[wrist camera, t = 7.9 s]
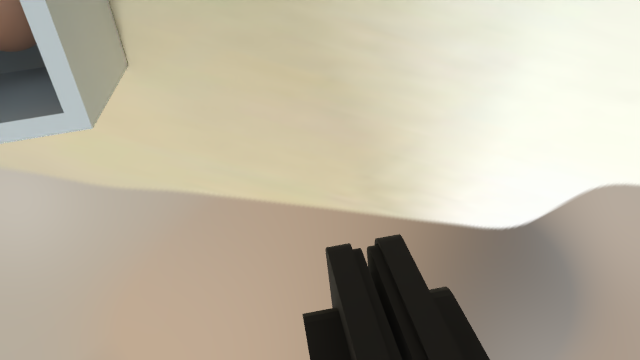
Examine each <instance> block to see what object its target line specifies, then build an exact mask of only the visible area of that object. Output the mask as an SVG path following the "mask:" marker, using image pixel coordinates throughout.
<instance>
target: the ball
mask: <svg viewBox="0 0 640 360" xmlns="http://www.w3.org/2000/svg"><path fill="white" fill-rule="evenodd" d="M36 44H37V43H36V41H35V38H34V36H33V33H32V31H31V28H30V26H29V23H28V20H27V18H26V15H25V13H24V10H23V8H22V5H21V3H20V0H0V51H5V52H16V51H22V50H26V49H28V48H30V47H32V46H34V45H36Z"/></svg>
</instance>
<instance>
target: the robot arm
mask: <svg viewBox="0 0 640 360" xmlns="http://www.w3.org/2000/svg"><path fill="white" fill-rule="evenodd" d="M326 258H327V265H328V274H329V282H330V290H331V299H332V307H333V308H332V309H326V310H321V311H316V312H311V313H306V314H303V319H304V325H305V331H306V336H307V343H308V349H309V355H310V360H490V359H489V357H488V356H487V354H486V352H485V350H484V349H483V347H482V345H481V343H480V341H479V340H478V338H477V336H476V334H475V332H474V331H473V329H472V327H471V325H470V324H469V322H468V320H467V318H466V317H465V315H464V313H463V311H462V309H461V308H460V306H459V304H458V302H457V301H456V299H455V297H454V295H453V294H452V292H451V291H450V289H449V288H447V287H442V288H437V289H431V290H429V289H428V287H427V285H426V283H425V281H424V280H423V277H422V275H421V273H420V272H419V270H418V268H417V266H416V264H415V262H414V260H413V258H412V256H411V254H410V252H409V250H408V248H407V246H406V244H405V242H404V240H403V238H402V236H401V235H393V236H388V237H383V238H377V239H375V246H369V247H368V248H367V258H368V266H367V263H366V261H365V258H364V255H363V253H362V250H361V248H358V249H353V250H352V247H351V245H350V244H343V245H338V246H332V247H327V248H326Z"/></svg>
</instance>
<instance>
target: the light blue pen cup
mask: <svg viewBox="0 0 640 360" xmlns="http://www.w3.org/2000/svg"><path fill="white" fill-rule="evenodd" d="M20 3H21V5H22V8H23V10H24V13H25V15H26V18H27V20H28V23H29V26H30V28H31V31H32V33H33V36H34V38H35V41H36V43H37V44H36V45H34V46H32V47H30V48H28V49H26V50H22V51H16V52H5V51H0V144H2V143H8V142H14V141H20V140H26V139H32V138H38V137H44V136H50V135H56V134H62V133H68V132H74V131H80V130H86V129H92V128H93V127H94V125H95V123H96V122H97V120H98V118H99V116H100V115H101V113H102V111H103V109H104V108H105V106H106V104H107V102H108V101H109V99H110V97H111V95H112V94H113V92H114V90H115V88H116V86H117V85H118V83H119V81H120V79H121V78H122V76H123V74H124V72H125V71H126V69H127V67H128V63H127V59H126V56H125V53H124V50H123V46H122V43H121V40H120V37H119V33H118V30H117V27H116V24H115V20H114V17H113V14H112V11H111V7H110V4H109V1H108V0H20Z"/></svg>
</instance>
